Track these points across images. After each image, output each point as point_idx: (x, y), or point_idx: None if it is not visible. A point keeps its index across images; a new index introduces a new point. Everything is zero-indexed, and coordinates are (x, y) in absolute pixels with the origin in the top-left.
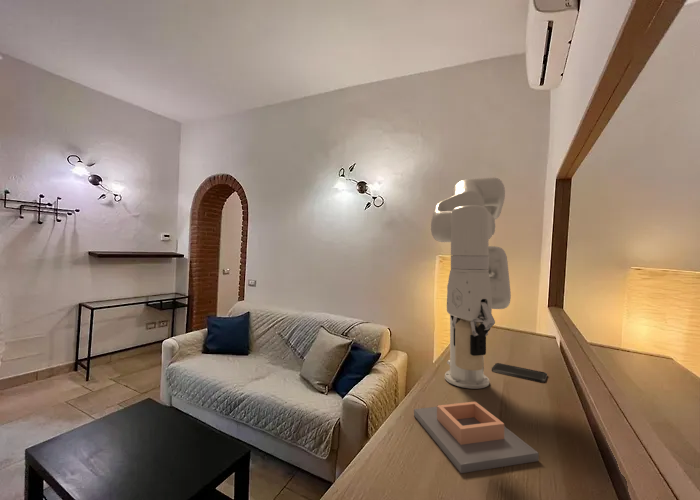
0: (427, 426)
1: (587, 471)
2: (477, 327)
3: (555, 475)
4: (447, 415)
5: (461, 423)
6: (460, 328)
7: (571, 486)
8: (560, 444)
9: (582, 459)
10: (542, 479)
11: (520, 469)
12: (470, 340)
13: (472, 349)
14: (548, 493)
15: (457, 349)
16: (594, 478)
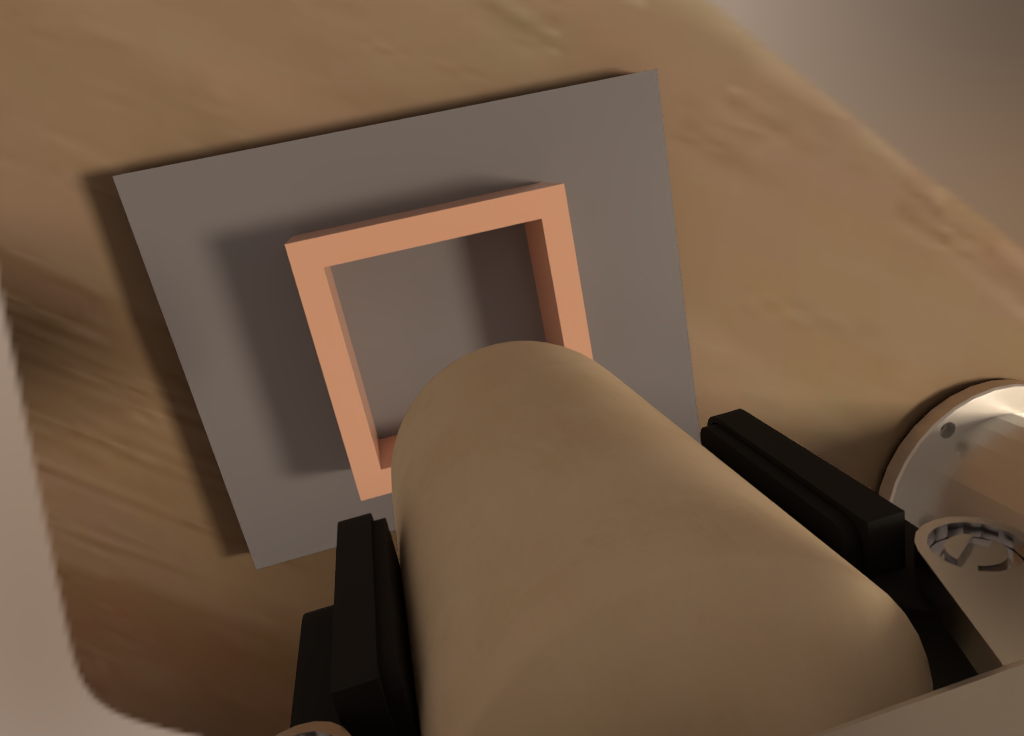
0: (477, 104)
1: (212, 693)
2: None
3: (170, 573)
4: (439, 212)
5: (495, 306)
6: (561, 595)
7: (107, 600)
8: None
9: (289, 710)
10: (136, 514)
11: (193, 456)
12: (366, 617)
13: (338, 563)
14: (47, 500)
15: (532, 399)
16: (171, 697)
